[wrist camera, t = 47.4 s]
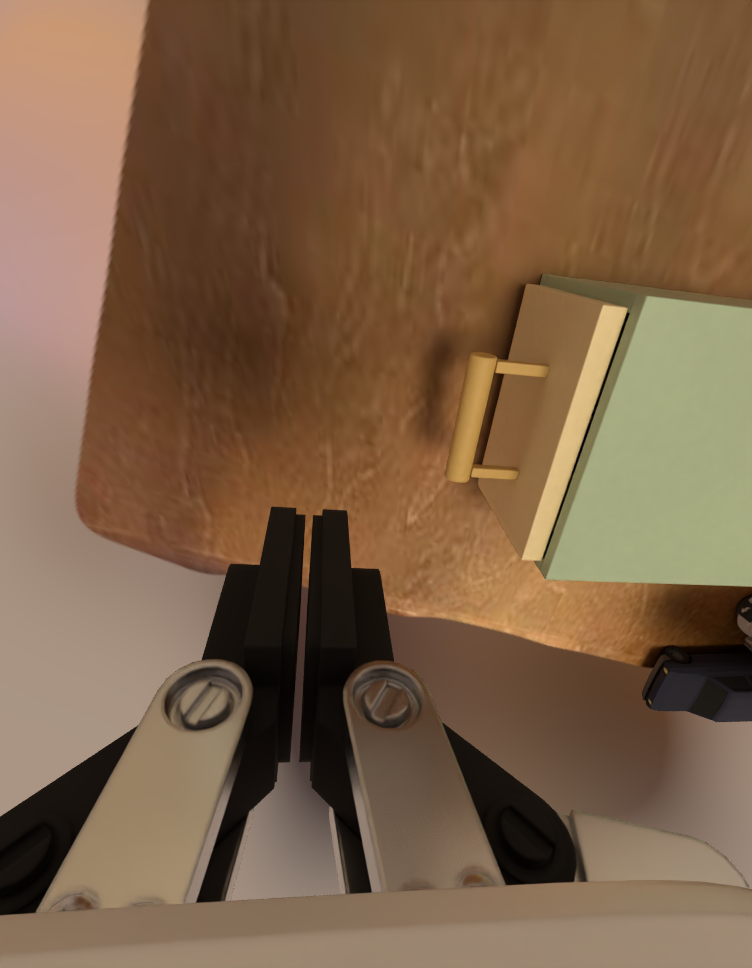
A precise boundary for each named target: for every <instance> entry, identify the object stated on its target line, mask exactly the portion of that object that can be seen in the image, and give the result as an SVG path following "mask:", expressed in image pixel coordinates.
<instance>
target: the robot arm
mask: <svg viewBox="0 0 752 968" xmlns="http://www.w3.org/2000/svg"><path fill="white" fill-rule="evenodd" d="M304 532H305V515H298V514H296V508H286V507H271V511H270V516H269V521H268V526H267V531H266V536H265V541H264V546H263V551H262V556H261V561H260V565H248V564H231V565H230V566H229V568H228V571H227V574H226V578H225V581H224V585H223V588H222V592H221V596H220V599H219V602H218V605H217V609H216V612H215V616H214V619H213V623H212V626H211V630H210V633H209V637H208V640H207V644H206V647H205V650H204V654H203V657H202V660H201V661H197V662H192V663H190V664H188V665H186V666H184V667H182V668H180V669H178V670H177V671H175V672H174V673H173V674H172V675H170V676H169V677H168V678H167V679H166V680H165V681H164V683H163V684H162V685H161V687H160V688H159V689H158V691H157V693H156V695H155V696H154V698H153V700H152V702H151V703H150V705H149V707H148V709H147V711H146V712H145V715H144V716H143V718H142V720H141V722H140V724H139V725H138V726H137V727H135V728H133V729H132V730H130V731H129V732H127V733H126V734H124V735H123V736H121V737H120V738H118V739H117V740H115V741H114V742H112V743H111V744H109V745H108V746H106V747H105V748H103V749H102V750H100V751H99V752H97V753H96V754H95V755H93V756H92V757H90V758H88V759H87V760H85V761H84V762H82V763H81V764H79V765H78V766H76V767H74V768H73V769H71V770H70V771H68V772H67V773H65V774H64V775H63V776H61V777H59V778H58V779H56V780H55V781H54V782H52V783H50V784H49V785H47V786H46V787H44V788H43V789H41V790H40V791H38V792H37V793H35V794H34V795H32V796H31V797H29V798H28V799H26V800H25V801H23V802H22V803H20V804H19V805H17V806H16V807H14V808H13V809H11V810H10V811H8V812H7V813H5V814H3V815H2V816H1V817H0V968H752V889H750V887H749V885H748V884H747V882H746V881H745V879H744V877H743V875H742V874H741V873H740V872H739V870H738V869H737V868H736V867H735V866H734V865H733V864H732V863H731V862H730V861H729V860H728V859H727V857H726V856H724V855H723V854H722V853H720V852H719V851H718V850H716V849H715V848H713V847H712V846H710V845H709V844H708V843H706V842H703V841H701V840H699V839H696V838H693V837H691V836H687V835H683V834H678V833H674V832H670V831H665V830H661V829H656V828H652V827H647V826H643V825H638V824H633V823H629V822H625V821H620V820H616V819H611V818H607V817H602V816H598V815H593V814H589V813H585V812H580V811H576V810H572V811H571V813H570V815H569V816H567V815H563V814H558V813H557V812H555V811H554V810H553V809H552V808H551V807H550V806H549V805H548V804H547V803H546V802H545V801H544V800H543V799H542V798H540V797H539V796H538V795H536V794H535V793H534V792H532V791H531V790H530V789H529V788H527V787H526V786H524V785H523V784H522V783H520V782H519V781H518V780H517V779H515V778H514V777H513V776H512V775H510V774H509V773H508V772H506V771H505V770H504V769H502V768H501V767H500V766H498V765H497V764H496V763H495V762H493V761H492V760H491V759H489V758H488V757H487V756H485V755H484V754H483V753H481V752H480V751H479V750H478V749H476V748H475V747H474V746H472V745H471V744H470V743H468V742H467V741H466V740H464V739H463V738H462V737H460V736H459V735H458V734H457V733H455V732H454V731H453V730H451V729H450V728H449V727H447V726H446V725H445V724H444V723H442V722H441V719H440V717H439V714H438V711H437V709H436V706H435V704H434V701H433V699H432V696H431V694H430V691H429V689H428V687H427V686H426V684H425V682H424V680H423V679H422V678H421V677H420V676H419V675H418V674H417V673H416V672H415V671H414V670H412V669H410V668H408V667H406V666H405V665H403V664H400V663H396V662H394V658H393V652H392V645H391V639H390V633H389V626H388V619H387V613H386V607H385V600H384V594H383V587H382V581H381V575H380V571H379V569H363V568H351V558H350V544H349V530H348V516H347V511H345V510H325V509H323V514H322V516H318V515H313V525H312V541H311V557H310V573H309V589H308V605H307V624H306V641H305V642H306V644H305V662H304V682H303V700H302V719H301V741H300V760H299V762H311V767H310V781H312V788H313V789H314V790H315V791H316V792H317V793H318V794H319V795H320V796H321V797H322V798H323V799H324V800H325V801H326V802H327V803H328V804H329V819H330V825H331V832H332V840H333V846H334V853H335V860H336V867H337V874H338V881H339V888H340V895H323V896H306V897H288V898H271V899H256V900H238V901H231V897H232V893H233V890H234V887H235V882H236V879H237V875H238V871H239V868H240V864H241V860H242V856H243V853H244V849H245V845H246V841H247V838H248V833H249V830H250V826H251V822H252V818H253V809H254V807H255V806H256V805H257V804H258V803H259V802H260V801H261V800H262V799H263V798H264V797H265V796H266V795H267V794H268V793H270V791H272V790H273V789H274V784H275V782H277V772H278V763H279V762H290V752H291V737H292V722H293V709H294V694H295V679H296V664H297V651H298V636H299V635H298V634H299V622H300V621H299V620H300V605H301V587H302V569H303V550H304Z"/></svg>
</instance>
